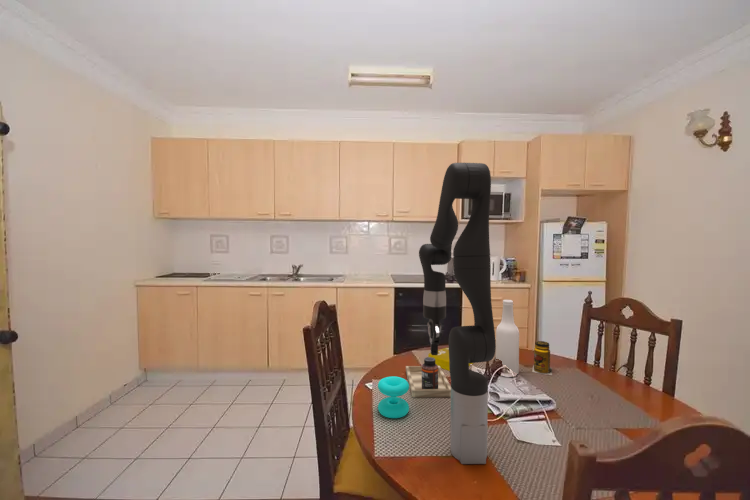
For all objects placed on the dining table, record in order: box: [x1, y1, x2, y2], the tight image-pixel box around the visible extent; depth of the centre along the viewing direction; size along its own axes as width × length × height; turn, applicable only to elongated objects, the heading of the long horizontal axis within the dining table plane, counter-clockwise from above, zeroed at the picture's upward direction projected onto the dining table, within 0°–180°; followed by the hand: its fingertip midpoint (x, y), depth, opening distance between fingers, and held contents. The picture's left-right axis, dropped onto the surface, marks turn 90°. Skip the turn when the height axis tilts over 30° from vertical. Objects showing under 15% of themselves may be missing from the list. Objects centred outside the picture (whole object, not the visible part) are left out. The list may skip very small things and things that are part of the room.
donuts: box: [377, 375, 410, 419], centre depth 110 cm, size 10×10×10 cm
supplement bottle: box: [421, 356, 438, 389], centre depth 124 cm, size 6×6×11 cm
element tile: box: [427, 346, 474, 372], centre depth 151 cm, size 15×15×5 cm
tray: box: [405, 365, 451, 399], centre depth 130 cm, size 22×14×3 cm, turn 1°
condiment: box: [531, 340, 553, 376], centre depth 143 cm, size 7×8×12 cm
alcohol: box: [495, 299, 520, 374], centre depth 139 cm, size 9×9×30 cm
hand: (434, 354), depth 115 cm, fingers closed
